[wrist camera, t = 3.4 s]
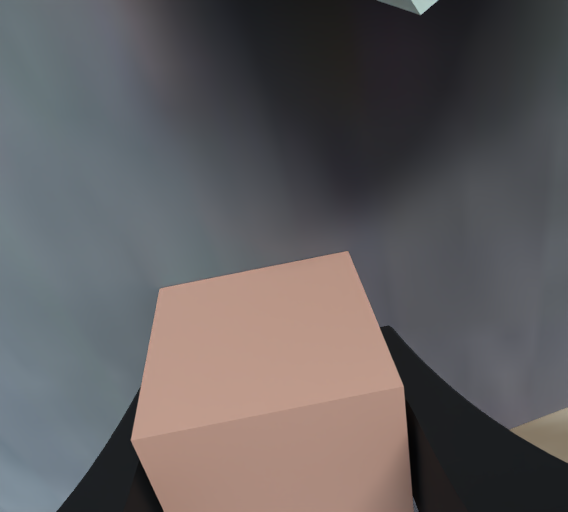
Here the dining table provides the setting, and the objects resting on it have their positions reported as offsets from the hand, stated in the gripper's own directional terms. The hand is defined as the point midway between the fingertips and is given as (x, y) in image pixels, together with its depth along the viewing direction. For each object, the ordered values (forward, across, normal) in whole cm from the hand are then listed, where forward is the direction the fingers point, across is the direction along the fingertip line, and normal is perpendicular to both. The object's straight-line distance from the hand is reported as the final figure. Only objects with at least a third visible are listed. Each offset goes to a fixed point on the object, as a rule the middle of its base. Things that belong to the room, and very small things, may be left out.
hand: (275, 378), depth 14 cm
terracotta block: (+1, 0, 0) cm, 1 cm away
